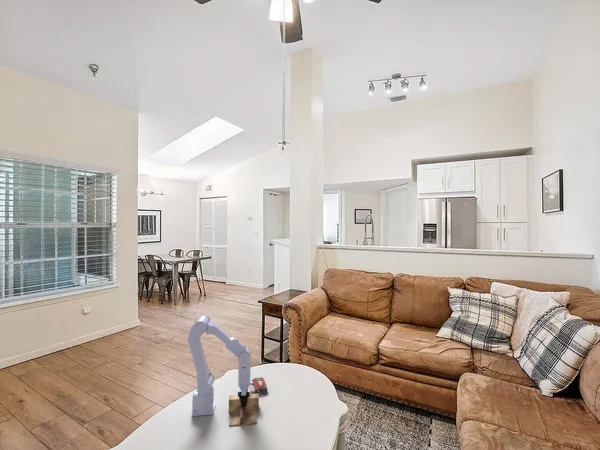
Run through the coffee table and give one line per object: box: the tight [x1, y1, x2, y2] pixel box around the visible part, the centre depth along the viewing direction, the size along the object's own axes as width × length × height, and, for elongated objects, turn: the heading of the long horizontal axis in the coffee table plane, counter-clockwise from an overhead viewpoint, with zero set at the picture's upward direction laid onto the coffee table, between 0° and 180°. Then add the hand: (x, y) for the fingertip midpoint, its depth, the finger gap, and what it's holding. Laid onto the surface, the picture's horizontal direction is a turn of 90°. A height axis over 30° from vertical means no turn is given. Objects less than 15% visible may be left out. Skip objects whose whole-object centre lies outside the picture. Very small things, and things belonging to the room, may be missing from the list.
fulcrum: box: [228, 407, 258, 427], centre depth 132 cm, size 12×8×3 cm, turn 99°
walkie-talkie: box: [249, 376, 268, 395], centre depth 154 cm, size 9×4×20 cm
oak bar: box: [228, 393, 260, 413], centre depth 140 cm, size 14×4×6 cm, turn 99°
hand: (244, 401), depth 140 cm, fingers open, 7 cm apart
